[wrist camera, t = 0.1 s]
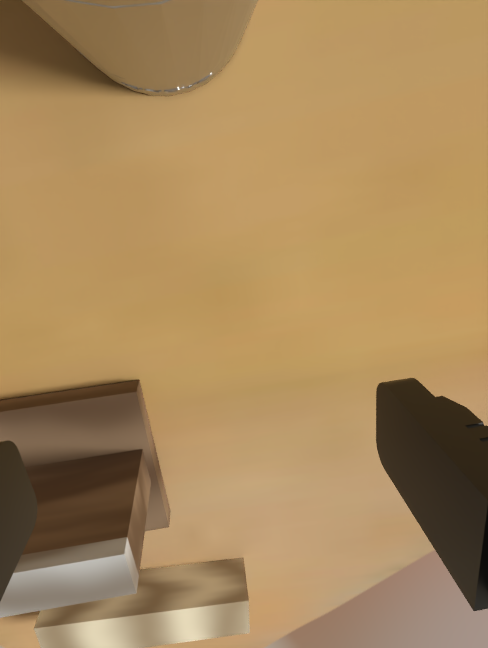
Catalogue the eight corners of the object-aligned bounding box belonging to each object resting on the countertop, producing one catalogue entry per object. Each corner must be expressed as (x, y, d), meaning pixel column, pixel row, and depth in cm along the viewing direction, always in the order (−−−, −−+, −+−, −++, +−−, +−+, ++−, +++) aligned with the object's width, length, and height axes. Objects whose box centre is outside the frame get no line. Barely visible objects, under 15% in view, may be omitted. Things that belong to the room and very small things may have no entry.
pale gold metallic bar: (60, 608, 36) (45, 661, 32) (51, 577, 34) (34, 628, 30) (244, 585, 37) (249, 633, 33) (242, 554, 36) (248, 600, 32)
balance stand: (-14, 402, 27) (-113, 520, 18) (139, 379, 28) (113, 484, 19) (40, 532, 32) (-18, 676, 23) (170, 511, 32) (161, 643, 24)
